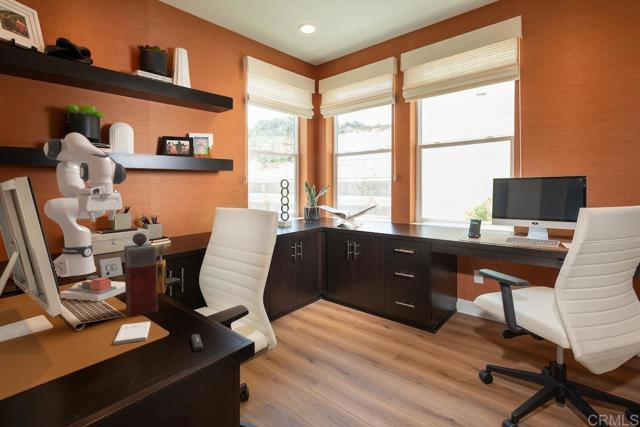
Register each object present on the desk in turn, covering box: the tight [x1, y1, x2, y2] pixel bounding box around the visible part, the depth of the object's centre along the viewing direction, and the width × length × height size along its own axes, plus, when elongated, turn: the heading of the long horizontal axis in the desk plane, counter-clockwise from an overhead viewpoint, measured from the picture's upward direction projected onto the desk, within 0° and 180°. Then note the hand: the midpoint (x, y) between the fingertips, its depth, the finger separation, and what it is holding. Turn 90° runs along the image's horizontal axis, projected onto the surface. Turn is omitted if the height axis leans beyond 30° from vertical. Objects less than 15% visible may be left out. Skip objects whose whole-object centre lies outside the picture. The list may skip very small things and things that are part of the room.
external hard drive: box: [113, 321, 151, 346], centre depth 100 cm, size 2×8×12 cm
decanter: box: [123, 232, 159, 317], centre depth 120 cm, size 9×11×28 cm
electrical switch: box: [98, 256, 123, 279], centre depth 167 cm, size 9×5×9 cm, turn 141°
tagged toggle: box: [81, 280, 92, 289], centre depth 135 cm, size 3×3×4 cm
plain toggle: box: [85, 275, 100, 281], centre depth 143 cm, size 3×3×4 cm
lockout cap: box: [90, 277, 112, 291], centre depth 134 cm, size 5×5×5 cm
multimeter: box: [156, 245, 167, 298], centre depth 140 cm, size 15×10×20 cm
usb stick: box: [190, 333, 205, 352], centre depth 94 cm, size 10×3×2 cm, turn 27°
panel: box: [59, 280, 126, 302], centre depth 139 cm, size 18×18×4 cm
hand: (102, 220), depth 151 cm, fingers open, 8 cm apart
